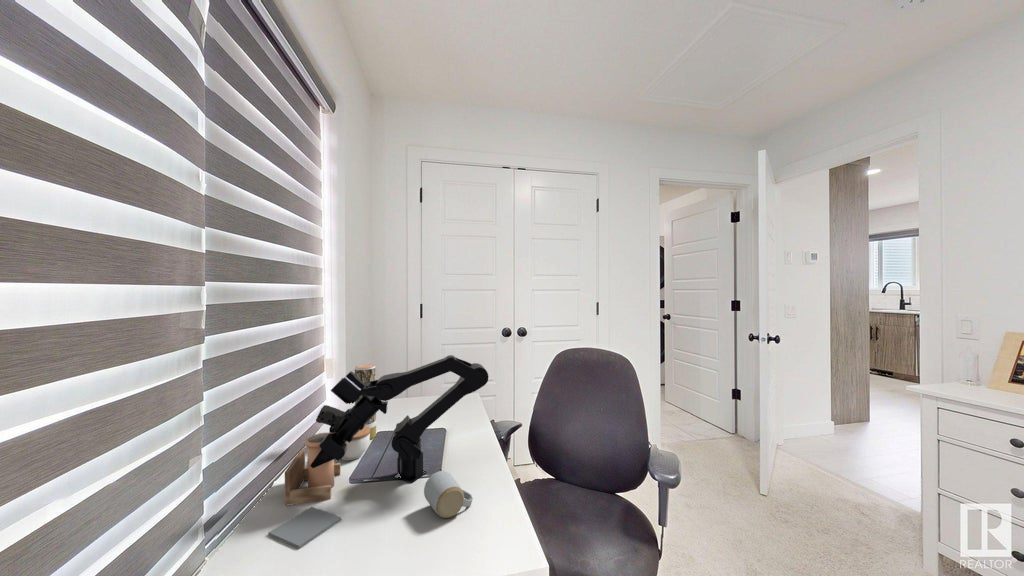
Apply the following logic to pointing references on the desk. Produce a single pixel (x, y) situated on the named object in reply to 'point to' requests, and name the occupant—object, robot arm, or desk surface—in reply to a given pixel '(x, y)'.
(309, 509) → the slate mat
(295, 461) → the light wood arch piece
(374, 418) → the bark log
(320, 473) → the terracotta pot
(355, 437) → the lidded jar
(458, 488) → the ceramic mug
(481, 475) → the desk surface
